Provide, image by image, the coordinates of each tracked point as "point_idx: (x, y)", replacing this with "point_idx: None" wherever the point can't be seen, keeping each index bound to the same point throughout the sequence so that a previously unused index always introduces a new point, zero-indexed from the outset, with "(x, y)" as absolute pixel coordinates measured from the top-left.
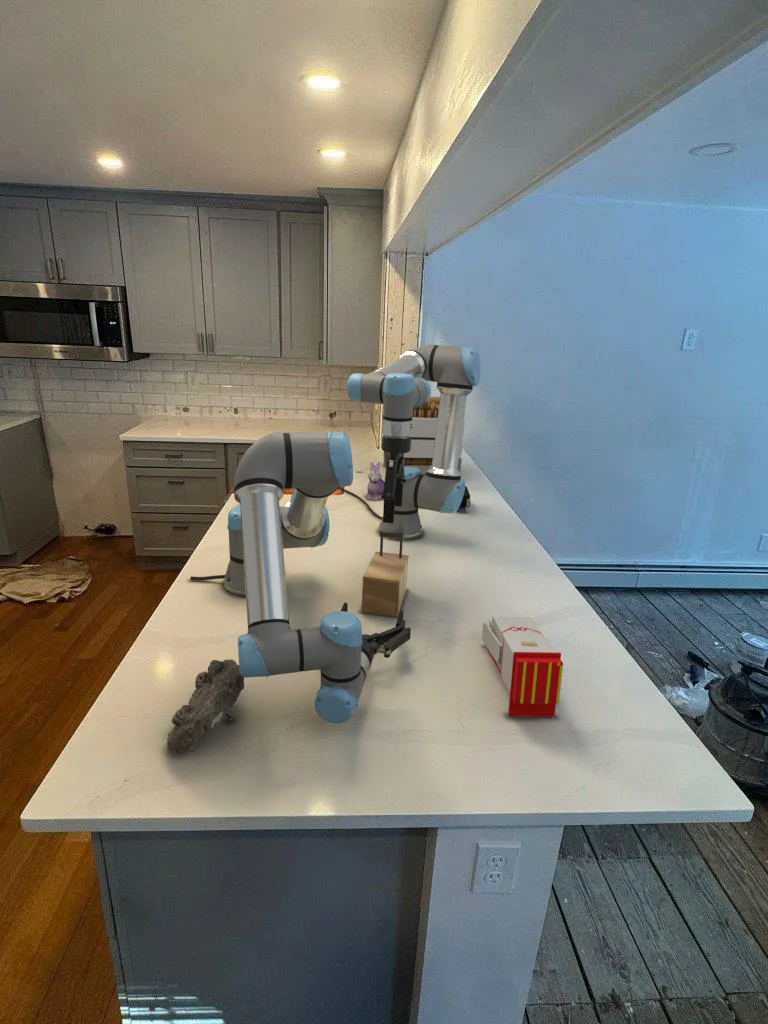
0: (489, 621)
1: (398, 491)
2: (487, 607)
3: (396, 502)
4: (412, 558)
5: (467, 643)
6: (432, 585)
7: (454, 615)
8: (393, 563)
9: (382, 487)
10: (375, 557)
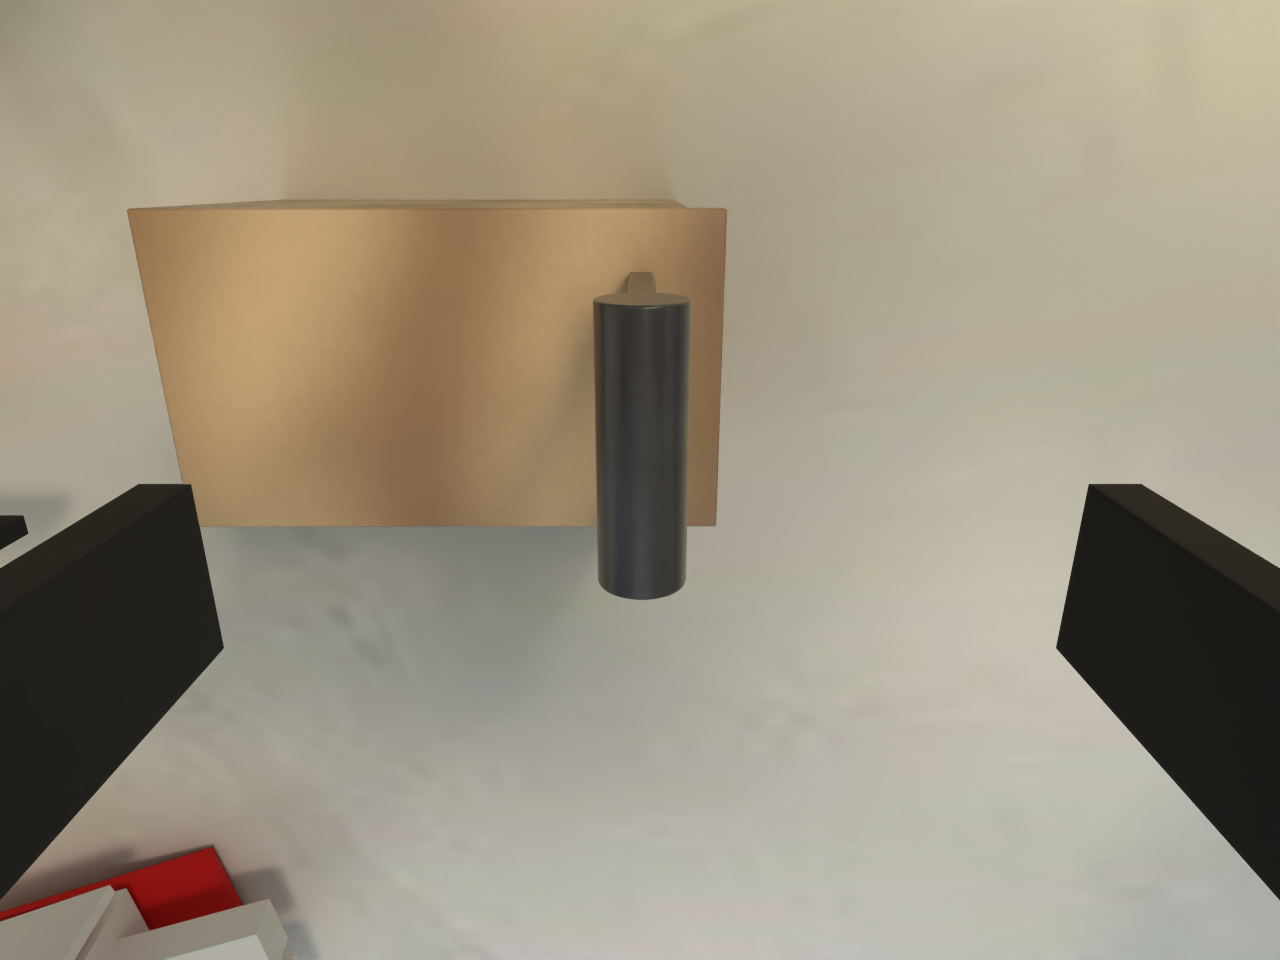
0: (253, 926)
1: (1275, 788)
2: (587, 847)
3: (1111, 597)
4: (1184, 403)
5: (209, 777)
6: (773, 576)
7: (449, 712)
8: (501, 427)
9: None
10: (577, 238)
